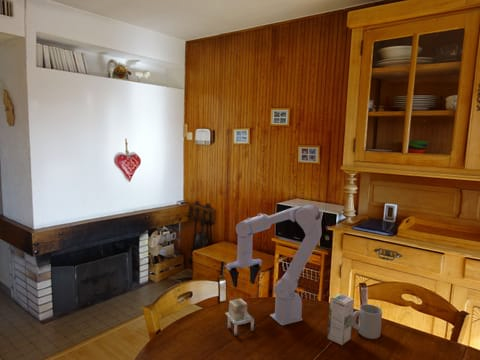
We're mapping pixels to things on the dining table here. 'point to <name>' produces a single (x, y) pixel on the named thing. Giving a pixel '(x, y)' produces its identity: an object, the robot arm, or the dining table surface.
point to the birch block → (237, 308)
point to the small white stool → (241, 322)
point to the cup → (368, 321)
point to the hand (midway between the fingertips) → (243, 284)
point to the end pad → (235, 319)
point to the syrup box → (340, 319)
